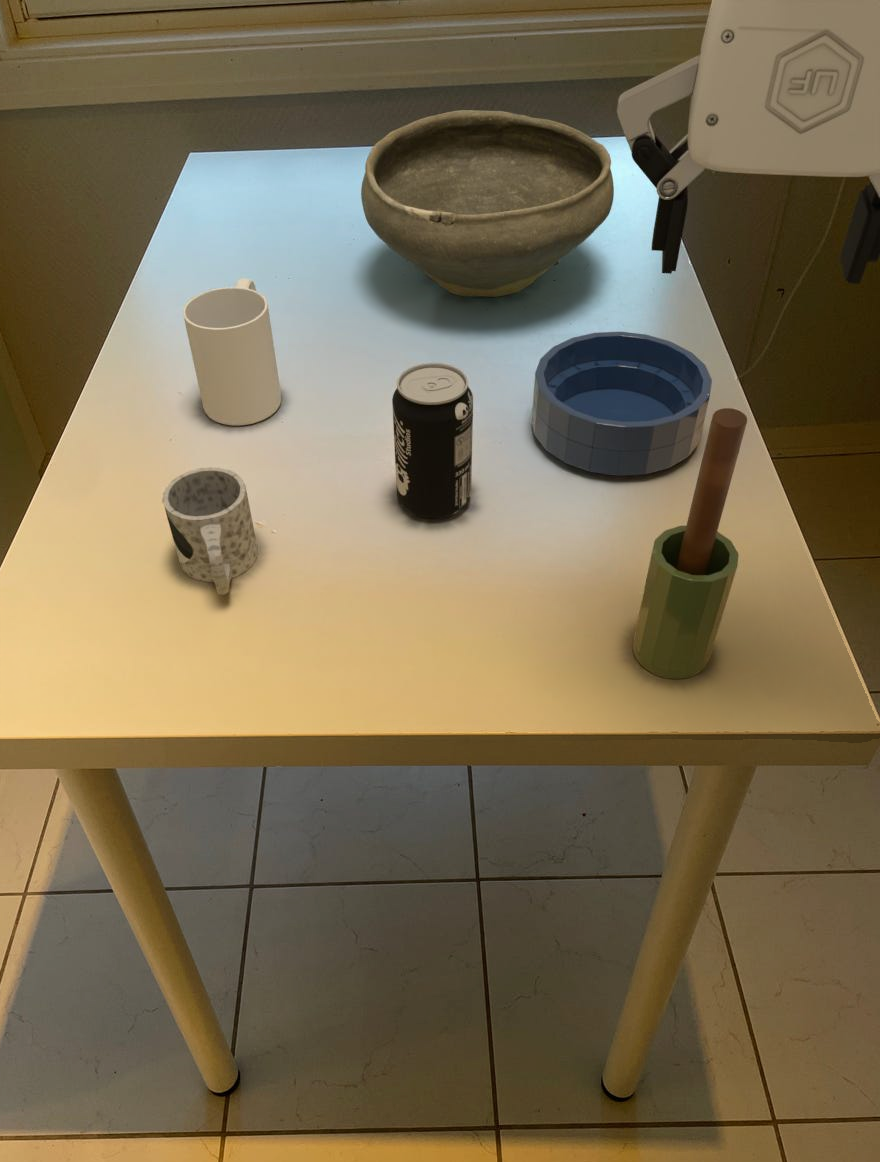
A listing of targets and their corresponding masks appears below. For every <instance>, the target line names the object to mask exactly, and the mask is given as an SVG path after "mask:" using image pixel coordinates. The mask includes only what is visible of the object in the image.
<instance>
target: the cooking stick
mask: <svg viewBox="0 0 880 1162" xmlns="http://www.w3.org/2000/svg"><path fill="white" fill-rule="evenodd" d="M747 423H748V417H747V415H746V414H745V413H744V412H742V411H740V410H738V409H736V408H729V407H728V408H726V407H725V408H720V409H716V411H714V413H713V414H712V417H711V422H710V425H709V430H708V432H707V433H708V434H707V438H706V443H705V445H704V451H703V453H702V454H703V455H702V459H701V463H700V466H699V471H698V474H697V479H696V483H695V488H694V493H693V497H692V500H691V503H690V504H691V505H690V508H689V514H688V516H687V521H686V525H685V526H686V529H685V533H684V538H683V542H682V546H681V550H680V554H679V558H678V563H677V567H676V569H677V570H678V571H682V572H685V573H688V574H691V575H706V571H707V567H708V563H709V560H710V556H711V552H712V549H713V545H714V541H715V538H716V534H717V532H718V530H719V526H720V522H721V519H722V515H723V512H724V509H725V504H726V501H727V497H728V493H729V489H730V486H731V482H732V479H733V475H734V472H735V468H736V463H737V459H738V457H739V453H740V449H741V447H742V442H743V439H744V436H745V431H746V427H747Z"/></svg>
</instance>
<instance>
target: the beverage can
mask: <svg viewBox="0 0 880 1162" xmlns="http://www.w3.org/2000/svg"><path fill="white" fill-rule="evenodd" d="M391 402H392V422H393V423H392V424H393V444H394V445H393V446H394V463H395V484H396V497H397V500H398V502H399V504H400V505H401V506H402V507H403V509H405V510H407V511H408V512H409V513H410V514H412V515H414V516H416V517H419V518H422V519H426V520H440V519H445V518H449V517H452V516H453V515H455V514H457V513H458V512H459V511H460V510H462V509H463V508H464V507H465V506H466V505H467V504H468V503H469V502H470V499H471V496H472V473H473V471H472V470H473V433H474V432H473V430H474V429H473V426H474V394H473V391H472V390H471V388H470V386H469V379H468V376H467V374H466V373H465V372H464V371H463V370H461V369H460V368H458V367H456V366H454V365H452V364H448V363H442V362H425V363H420V364H416V365H413V366H410V367H409V368H406V369H405V370H404V371H402V372H401V373H400V375H399V376H398V378H397V380H396V389H395V390H394V392H393V395H392V399H391Z"/></svg>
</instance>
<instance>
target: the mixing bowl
mask: <svg viewBox="0 0 880 1162" xmlns="http://www.w3.org/2000/svg"><path fill="white" fill-rule="evenodd" d="M712 383H713V380H712V376H711V375H710V373H709V370H708V368H707V365H706V363H704V362H703V361H702V360H701V359H700V358H699V357H698V356H696V355H695V354H694V353H693V351H690V350H688V349H686V348H684V347H682V346H681V345H678V344H676V343H675V342H672V341H670V340H667V339H663V338H660V337H656V336H653V335H649V334H646V333H639V332H638V333H637V332H628V331H603V332H602V331H601V332H600V331H599V332H592V333H586V334H582V335H578V336H573V337H571V338H569V339H567V340H564V341H562V342H560V343H558V344H556V345H554V346H552V347H551V348H550V349H549V350H548V351H547V352H546V353H544V355H543V356H542V357H540V359H539V362H538V365H537V367H536V370H535V372H534V383H533V384H534V385H533V397H532V398H533V399H532V411H531V424H532V430H533V435H534V437H535V438H536V440H537V441H538V443H540V444H541V446H542V447H543V448H544V450H545V451H547V452H548V453H550V454H551V455H553V456H554V457H556V458H558V459H559V460H560V461H561V462H563V463H565V464H567V465H569V466H573V467H575V468H578V469H580V470H584V471H587V472H590V473H596V474H602V475H608V476H609V475H610V476H619V477H620V476H639V475H640V476H641V475H648V474H652V473H656V472H659V471H664V470H667V469H670V468H672V467H673V466H675V465H677V464H679V463H680V462H682V461H684V460H685V459H687V458H689V456H690V455H691V454H692V453H693V452H694V450H695V448H696V447H697V446H698V445H699V443H700V440H701V435H702V432H703V427H704V424H705V423H704V422H705V419H706V415H707V410H708V406H709V401H710V397H711V392H712V385H713V384H712Z"/></svg>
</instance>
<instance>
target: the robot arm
mask: <svg viewBox="0 0 880 1162" xmlns="http://www.w3.org/2000/svg"><path fill="white" fill-rule="evenodd" d="M688 97H690V100H689V107H688V108H689V109H688V110H689V111H688V125H687V126H688V127H687V133H686V134H685V135H684V137H682V138H681V139H680V140H679V141H678V142H677V143H676V144H675V145H674V146H673V147H672V148H671V149H670V150H669V149H668V148H667V147H666V146H665V144H664V143H663V142H662V140H661V139H660V138H659V137H658V135H657V133H655V131H654V129H653V127H652V124H651V119H650V118H651V117H652V115H654V114H655V113H657V112H659V111H661V110H664V109H665V108H668V107H669V106H671V105H674V104H676V103H678V102H680V101H682V100H684V99H686V98H688ZM616 115H617V118H618V121H619V123H620V126H621V129H622V131H623V135H624V137H625V140H626V143H627V144H628V147H629V149H630V152H631V158H632V160H633V162H634V163H635V164H636V166H638V168H639V170H641V172H642V173H643V174H644V175H645V177H646V178H647V179H648V180H649V181H650V183H651V184H652V185H653V187H654V188H655V189H656V193H657V195H658V201H657V207H656V213H655V218H654V226H653V231H652V239H651V251H656V252H662V253H661V255H662V256H661V274H669V275H670V274H671V275H672V273H673V272H676V271H677V266H678V260H679V255H680V249H681V244H682V237H683V233H684V228H685V222H686V217H687V212H688V206H689V205H688V202H689V190H688V186H689V185H690V184H691V183H692V182H693V181H695V179H696V178H697V177H699V176H700V174H702V173H703V172H704V171H705V170H706V169H707V170H710V171H715V172H722V173H736V174H752V175H755V174H756V175H775V176H776V175H778V176H779V175H780V176H799V177H801V176H802V177H803V176H804V177H805V176H806V177H830V178H832V177H833V178H862V177H863V178H864V177H867V178H869V180H870V182H869V184H865V185H864V189H861V190H859V193H858V197H857V200H856V204H855V206H854V209H853V212H852V216H851V220H850V222H849V226H848V229H847V231H846V235H845V237H844V242H843V245H842V248H841V251H840V255H839V261H840V265H841V269H842V273H843V278H844V281H845V282H847V284H850V285H860V284H861V283H862V280H863V276H864V273H865V271H866V267H867V264H868V263H877V262H878V260H879V257H880V0H711V4H710V7H709V11H708V16H707V19H706V24H705V28H704V33H703V37H702V41H701V45H700V50H699V54H698V55H696V56H693V57H692V58H689V59H688V60H686V61H683V62H682V63H679V64H678V65H676V66H674V67H671V68H669V69H667V70H666V71H664V72H661V73H659V74H658V75H655V76H654V77H651V78H649V79H647V80H646V81H643V82H641V83H639V84H638V85H635V86H633V87H631V88H629V89H627V90H625V91H623V92H622V93H621V94H620V95H619V97H618V100H617V105H616Z"/></svg>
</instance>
